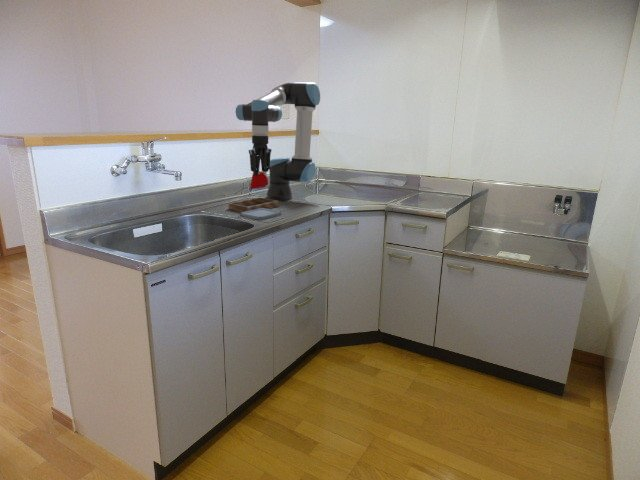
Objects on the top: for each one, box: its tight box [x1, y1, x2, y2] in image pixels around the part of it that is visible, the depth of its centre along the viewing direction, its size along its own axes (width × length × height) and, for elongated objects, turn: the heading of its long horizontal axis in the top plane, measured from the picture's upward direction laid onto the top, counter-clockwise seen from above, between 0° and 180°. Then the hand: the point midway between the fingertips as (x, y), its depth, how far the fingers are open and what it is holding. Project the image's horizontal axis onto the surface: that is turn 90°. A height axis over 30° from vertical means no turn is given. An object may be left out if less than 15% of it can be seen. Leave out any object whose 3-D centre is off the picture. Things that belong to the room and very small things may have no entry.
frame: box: [228, 197, 280, 213], centre depth 219 cm, size 23×14×3 cm, turn 145°
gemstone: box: [249, 170, 269, 190], centre depth 197 cm, size 9×9×10 cm
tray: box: [239, 208, 282, 221], centre depth 204 cm, size 15×13×2 cm
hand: (260, 185), depth 200 cm, fingers closed on gemstone, 3 cm apart
